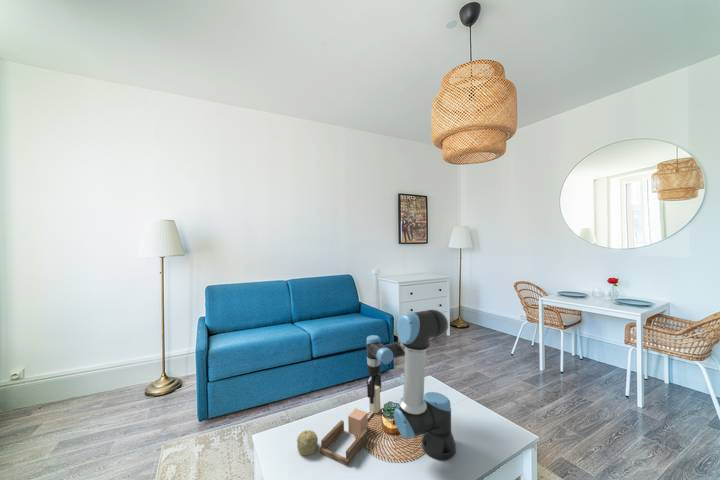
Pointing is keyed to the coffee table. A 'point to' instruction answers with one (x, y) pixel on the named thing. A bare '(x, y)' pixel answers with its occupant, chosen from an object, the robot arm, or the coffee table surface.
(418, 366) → the robot arm
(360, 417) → the pair of rectangular blocks
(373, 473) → the coffee table surface
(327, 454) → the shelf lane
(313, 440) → the decorative object
